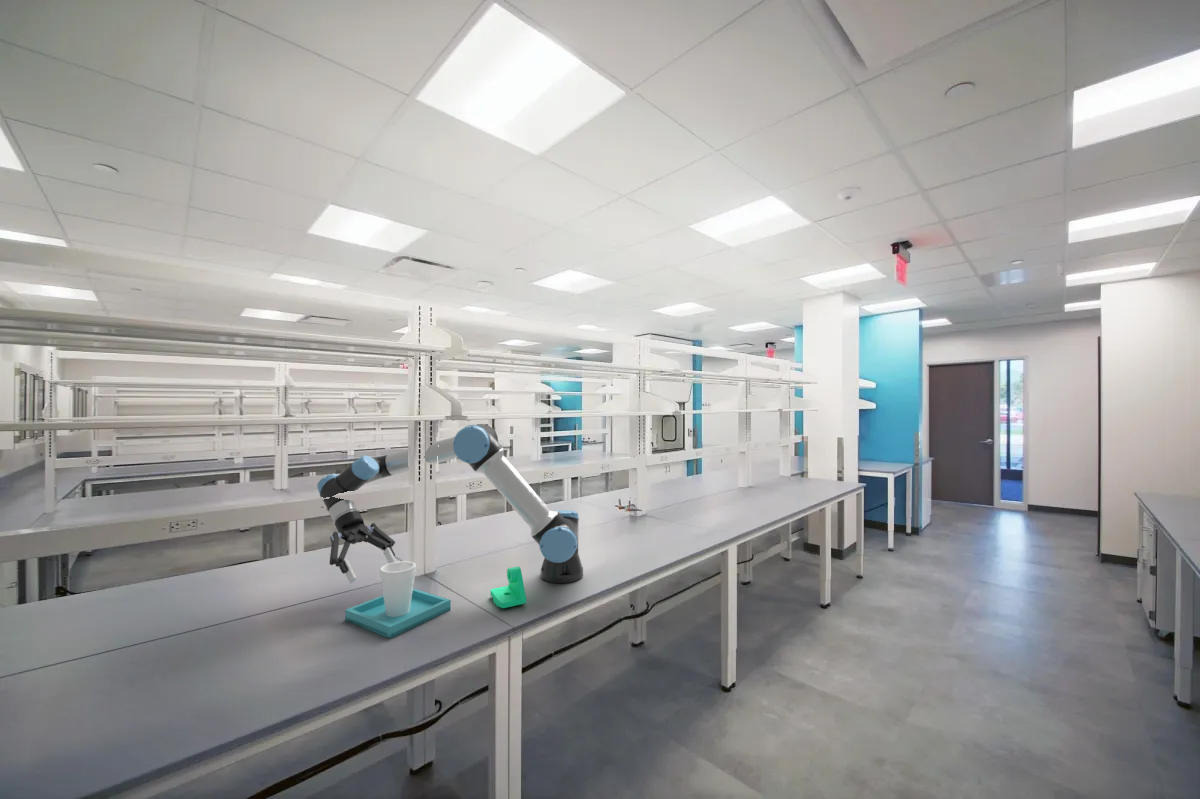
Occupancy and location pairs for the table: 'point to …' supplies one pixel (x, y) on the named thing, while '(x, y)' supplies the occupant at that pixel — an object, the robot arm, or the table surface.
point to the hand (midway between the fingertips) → (375, 573)
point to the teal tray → (377, 621)
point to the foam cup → (397, 587)
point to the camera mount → (510, 590)
